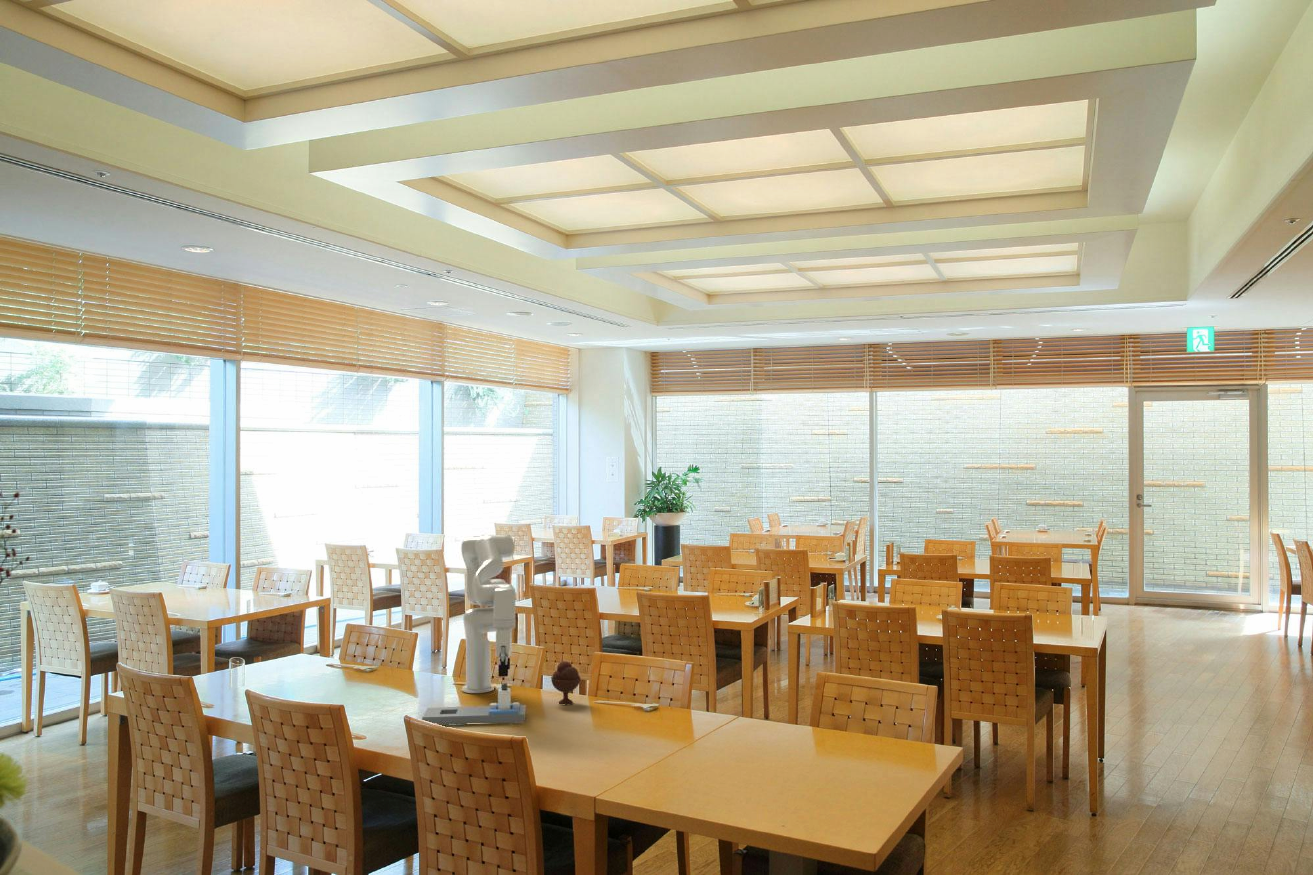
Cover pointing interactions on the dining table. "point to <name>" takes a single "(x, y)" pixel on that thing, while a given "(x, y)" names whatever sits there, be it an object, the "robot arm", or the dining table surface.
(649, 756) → the dining table surface
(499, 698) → the cord plug
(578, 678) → the ice cream bowl
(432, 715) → the board
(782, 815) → the dining table surface
